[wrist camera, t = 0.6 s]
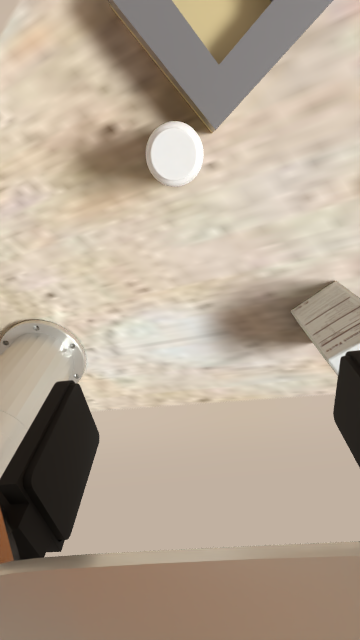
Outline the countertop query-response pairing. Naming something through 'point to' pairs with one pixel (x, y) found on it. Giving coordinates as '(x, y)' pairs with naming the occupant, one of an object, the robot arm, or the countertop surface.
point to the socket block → (216, 44)
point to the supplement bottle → (174, 153)
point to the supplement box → (331, 322)
